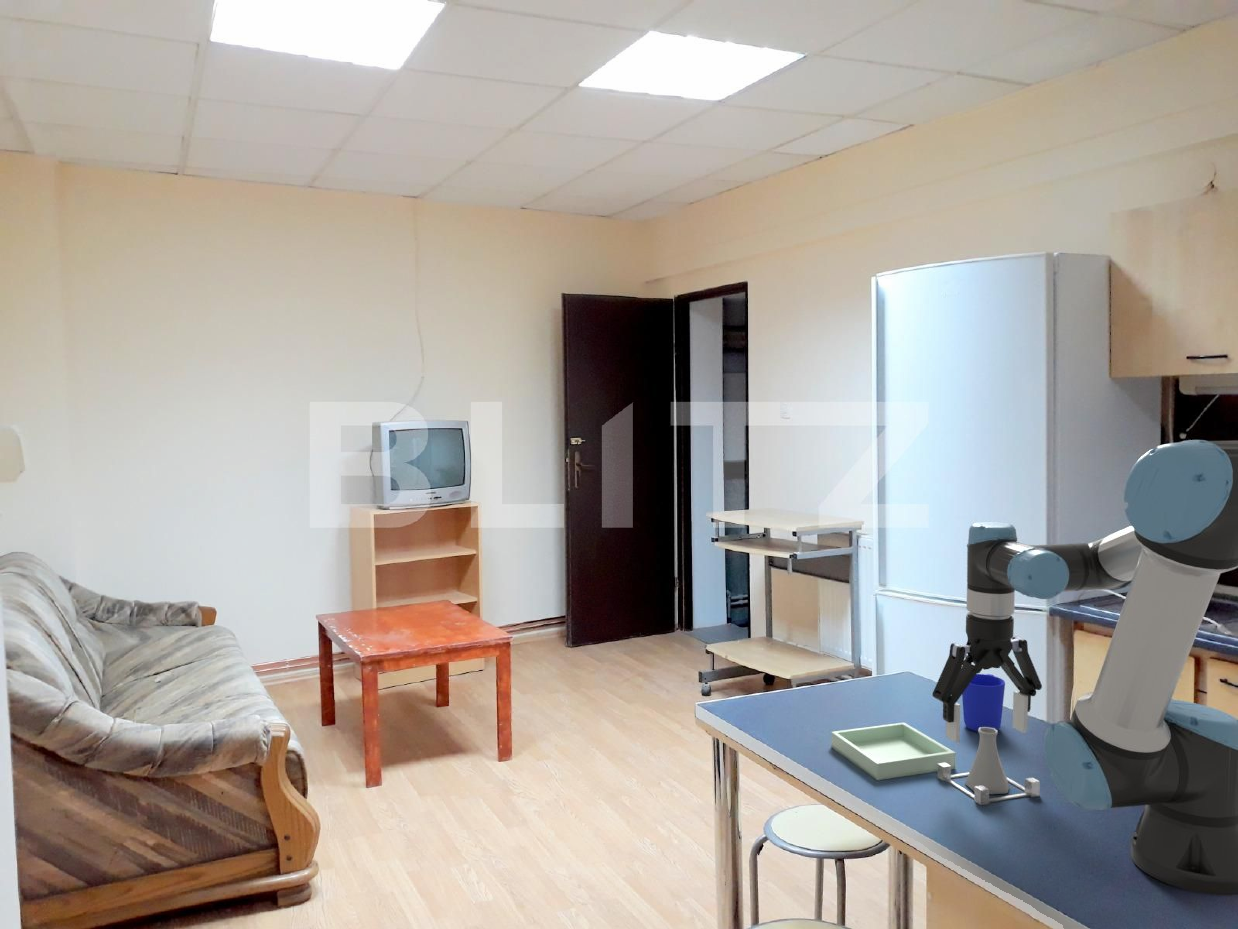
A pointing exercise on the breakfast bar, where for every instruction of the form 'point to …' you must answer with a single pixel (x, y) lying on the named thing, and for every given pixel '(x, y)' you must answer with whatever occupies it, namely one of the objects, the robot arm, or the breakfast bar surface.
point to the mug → (983, 702)
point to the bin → (891, 750)
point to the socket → (982, 792)
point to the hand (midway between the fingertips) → (986, 735)
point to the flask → (988, 765)
